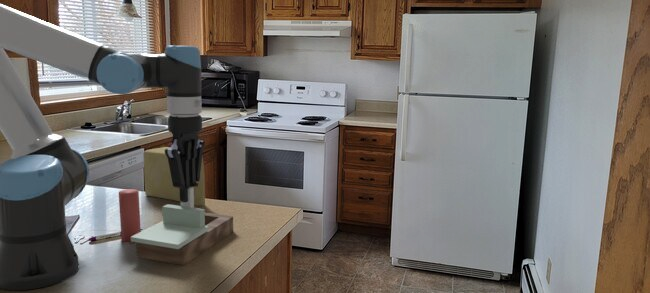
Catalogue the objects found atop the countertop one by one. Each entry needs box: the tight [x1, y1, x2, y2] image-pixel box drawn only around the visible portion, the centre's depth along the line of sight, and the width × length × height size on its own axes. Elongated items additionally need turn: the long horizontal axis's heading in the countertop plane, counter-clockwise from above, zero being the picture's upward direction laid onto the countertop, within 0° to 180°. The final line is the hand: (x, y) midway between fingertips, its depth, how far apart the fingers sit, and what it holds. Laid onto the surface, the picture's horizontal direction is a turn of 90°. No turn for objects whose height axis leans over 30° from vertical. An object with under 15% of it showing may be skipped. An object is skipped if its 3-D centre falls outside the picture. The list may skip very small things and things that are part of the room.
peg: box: [118, 188, 142, 244], centre depth 118 cm, size 4×4×12 cm
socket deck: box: [135, 212, 234, 266], centre depth 117 cm, size 22×12×4 cm, turn 162°
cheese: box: [143, 146, 206, 207], centre depth 151 cm, size 22×10×15 cm, turn 55°
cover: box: [131, 203, 209, 249], centre depth 110 cm, size 12×12×5 cm
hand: (187, 213), depth 117 cm, fingers closed
